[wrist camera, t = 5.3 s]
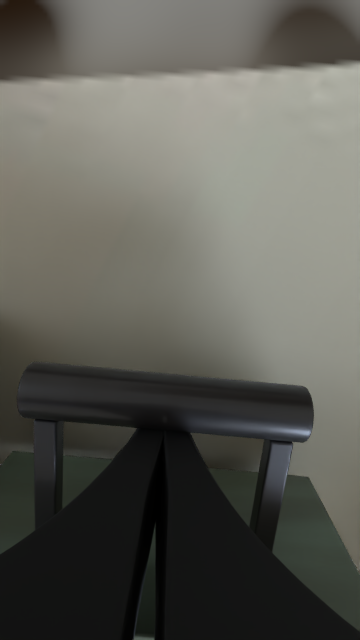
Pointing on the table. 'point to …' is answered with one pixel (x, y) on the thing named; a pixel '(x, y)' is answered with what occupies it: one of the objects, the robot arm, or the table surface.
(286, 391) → the drawer
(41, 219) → the table surface
